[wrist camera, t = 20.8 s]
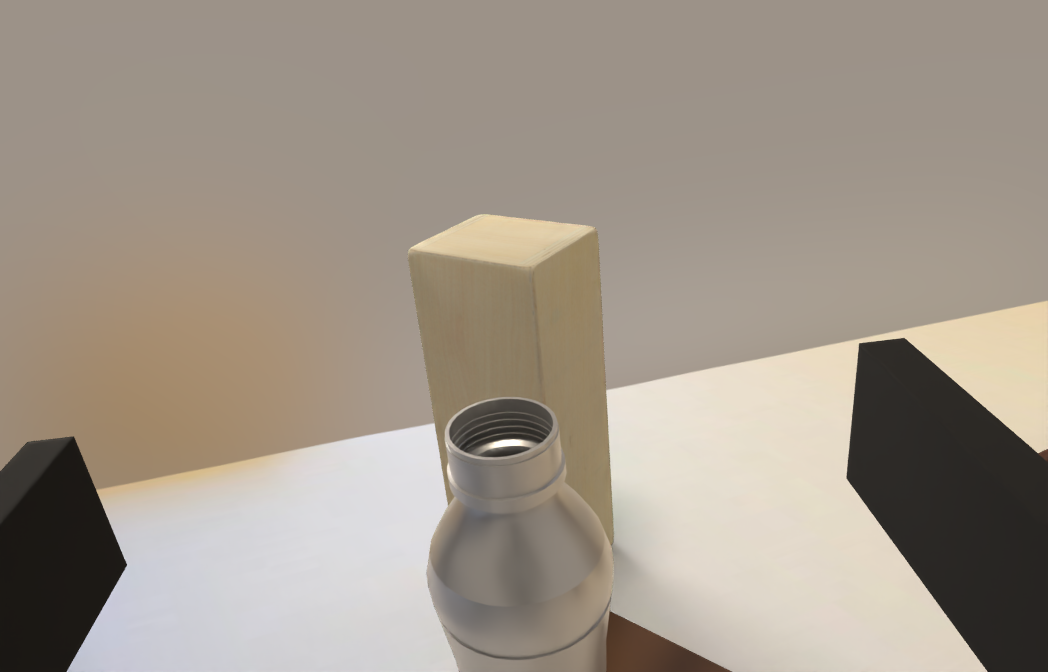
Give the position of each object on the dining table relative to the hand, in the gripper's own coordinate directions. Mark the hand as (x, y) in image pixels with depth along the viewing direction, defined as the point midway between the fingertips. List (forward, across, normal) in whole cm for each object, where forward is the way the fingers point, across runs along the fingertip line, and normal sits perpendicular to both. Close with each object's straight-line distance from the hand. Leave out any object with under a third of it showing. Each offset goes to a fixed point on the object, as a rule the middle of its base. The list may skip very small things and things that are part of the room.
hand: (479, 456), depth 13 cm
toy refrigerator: (+28, +1, -26) cm, 38 cm away
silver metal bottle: (+10, 0, -26) cm, 27 cm away
